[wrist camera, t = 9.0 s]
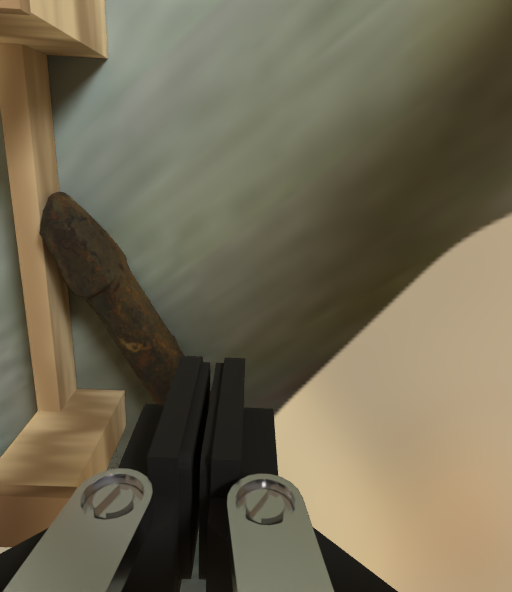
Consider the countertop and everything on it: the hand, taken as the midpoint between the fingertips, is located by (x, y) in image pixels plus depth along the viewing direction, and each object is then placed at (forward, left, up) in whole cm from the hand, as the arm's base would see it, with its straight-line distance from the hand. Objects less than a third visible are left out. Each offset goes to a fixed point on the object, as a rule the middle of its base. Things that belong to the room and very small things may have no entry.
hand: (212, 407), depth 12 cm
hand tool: (+7, +5, -19) cm, 21 cm away
